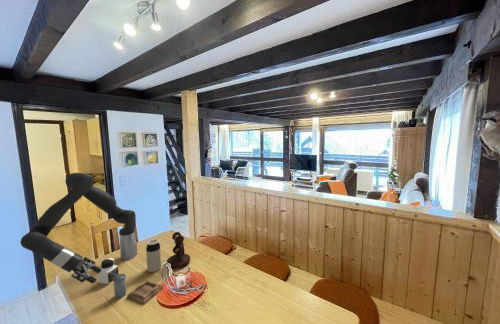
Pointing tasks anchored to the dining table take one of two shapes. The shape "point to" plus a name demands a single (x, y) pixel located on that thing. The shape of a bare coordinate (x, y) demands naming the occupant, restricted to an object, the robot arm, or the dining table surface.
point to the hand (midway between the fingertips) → (97, 276)
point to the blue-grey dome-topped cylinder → (119, 285)
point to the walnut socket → (144, 292)
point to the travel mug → (153, 255)
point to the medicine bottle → (107, 271)
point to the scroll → (178, 252)
